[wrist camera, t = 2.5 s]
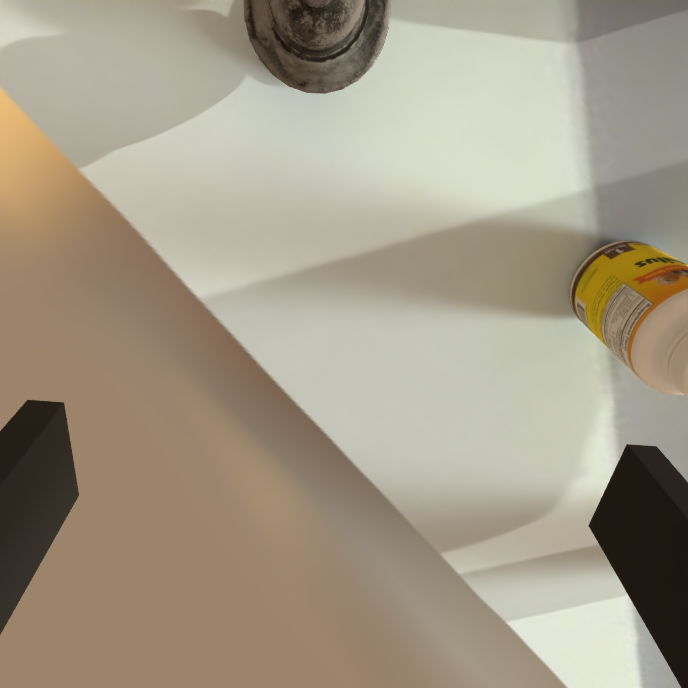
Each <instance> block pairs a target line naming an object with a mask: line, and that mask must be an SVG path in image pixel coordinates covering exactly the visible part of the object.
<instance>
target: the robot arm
mask: <svg viewBox="0 0 688 688" xmlns="http://www.w3.org/2000/svg"><path fill="white" fill-rule="evenodd" d="M78 496H79V493H78V486H77V481H76V474H75V468H74V461H73V455H72V449H71V443H70V437H69V431H68V425H67V418H66V413H65V406H64V403H62V402H49V401H36V400H27V401H26V402H25V404H24V405H23V406H22V407H21V408H20V409H19V410H18V412H17V413H16V414H15V415H14V416H13V417H12V418H11V420H10V421H9V422H8V423H7V424H6V426H4V428H3V429H2V430H1V431H0V634H1V632H2V631H3V629H4V627H5V625H6V624H7V622H8V620H9V618H10V617H11V615H12V613H13V611H14V609H15V608H16V606H17V604H18V602H19V601H20V599H21V597H22V595H23V593H24V592H25V590H26V588H27V586H28V585H29V583H30V581H31V579H32V578H33V576H34V574H35V572H36V570H37V569H38V567H39V565H40V563H41V562H42V560H43V558H44V556H45V554H46V553H47V551H48V549H49V547H50V546H51V544H52V542H53V540H54V539H55V537H56V535H57V533H58V531H59V530H60V528H61V526H62V524H63V523H64V521H65V519H66V517H67V516H68V514H69V512H70V510H71V508H72V507H73V505H74V503H75V501H76V500H77V498H78ZM589 527H590V529H591V531H592V532H593V534H594V536H595V538H596V539H597V541H598V543H599V545H600V546H601V548H602V550H603V552H604V553H605V555H606V557H607V559H608V560H609V562H610V564H611V566H612V567H613V569H614V571H615V573H616V574H617V576H618V578H619V579H620V581H621V583H622V585H623V586H624V588H625V590H626V592H627V593H628V595H629V597H630V599H631V600H632V602H633V604H634V606H635V607H636V609H637V611H638V613H639V614H640V616H641V618H642V620H643V621H644V623H645V625H646V627H647V628H648V630H649V632H650V634H651V635H652V637H653V639H654V641H655V642H656V644H657V646H658V648H659V649H660V651H661V653H662V655H663V656H664V658H665V660H666V661H667V663H668V665H669V667H670V668H671V670H672V672H673V674H674V675H675V677H676V679H677V681H678V682H679V684H680V686H681V688H688V482H687V481H686V480H685V479H684V478H683V476H682V475H681V474H680V473H679V472H678V471H677V469H676V468H675V467H674V466H673V465H672V464H671V463H670V461H669V460H668V459H667V458H666V457H665V456H664V454H663V453H662V452H661V451H660V450H659V449H658V448H657V447H656V446H642V445H629V444H627V445H626V447H625V449H624V452H623V454H622V456H621V458H620V460H619V462H618V464H617V466H616V468H615V471H614V473H613V475H612V477H611V479H610V481H609V483H608V485H607V488H606V490H605V492H604V494H603V496H602V498H601V500H600V502H599V505H598V507H597V509H596V511H595V513H594V515H593V517H592V519H591V521H590V524H589Z"/></svg>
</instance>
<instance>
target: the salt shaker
mask: <svg viewBox="0 0 688 688" xmlns="http://www.w3.org/2000/svg"><path fill="white" fill-rule="evenodd" d="M244 17H245V23H246V27H247V31H248V34H249V38H250V41H251V43H252V45H253V47H254V49H255V51H256V53H257V55H258V57H259V59H260V60H261V62H262V63H263V64H264V65H265V66H266V67H267V69H268V70H269V71H270V72H271V73H272V74H273V75H274V76H275V77H276V78H278V79H279V80H281V81H282V82H284V83H285V84H286V85H288V86H289V87H292V88H295V89H298V90H301V91H304V92H306V93H323V94H325V93H329V92H333V91H337V90H342V89H344V88H345V87H347V86H349V85H351V84H352V83H354V82H356V81H358V80H359V79H360V78H361V77H362V76H363V75H364V74H365V73H366V72H367V71H368V70H369V69H370V68H371V67H372V65H373V64H374V62H375V60H376V59H377V57H378V55H379V54H380V52H381V50H382V48H383V45H384V42H385V39H386V35H387V32H388V29H389V18H390V0H244Z"/></svg>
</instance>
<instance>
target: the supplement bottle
mask: <svg viewBox="0 0 688 688" xmlns="http://www.w3.org/2000/svg"><path fill="white" fill-rule="evenodd" d="M570 301H571V305H572V308H573V310H574V312H575V314H576V315H577V317H578V318H579V319H580V320H581V321H582V322H583V323H584V324H585V325H586V326H587V327H588V328H589V329H590V330H591V331H592V332H593V333H594V334H595V335H596V336H597V337H598V338H599V339H600V340H601V341H602V342H603V343H604V344H605V345H606V346H607V347H608V348H609V349H610V350H611V351H612V352H613V353H614V354H615V355H616V356H617V357H618V358H619V359H620V360H621V361H622V362H624V363H625V364H626V365H627V366H628V367H629V368H630V369H631V370H632V371H633V372H634V373H635V374H636V375H637V376H638V377H639V378H640V379H641V380H642V381H643V382H645V383H646V384H647V385H648V386H650V387H651V388H653V389H655V390H657V391H660V392H663V393H666V394H672V395H686V396H687V397H688V265H687V264H685V263H683V262H681V261H679V260H677V259H675V258H673V257H671V256H670V255H668V254H666V253H664V252H662V251H660V250H659V249H657V248H655V247H653V246H651V245H648V244H646V243H643V242H639V241H619V242H615V243H611V244H609V245H606V246H604V247H602V248H600V249H598V250H597V251H595V252H594V253H592V254H591V255H590V256H589V257H588V258H587V259H586V260H585V261H584V262H583V263H582V264H581V266H580V267H579V268H578V270H577V271H576V273H575V275H574V278H573V280H572V283H571V288H570Z"/></svg>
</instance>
